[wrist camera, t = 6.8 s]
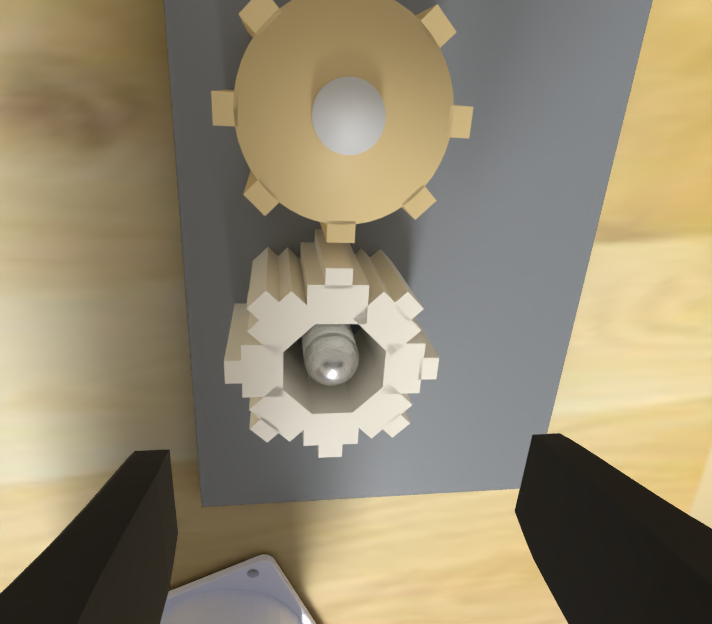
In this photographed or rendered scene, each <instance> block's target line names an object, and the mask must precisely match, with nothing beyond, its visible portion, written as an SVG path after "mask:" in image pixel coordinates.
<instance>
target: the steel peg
mask: <svg viewBox="0 0 712 624" xmlns="http://www.w3.org/2000/svg"><path fill="white" fill-rule="evenodd" d="M301 338H302V347H303V357H304V364H305V368H306V370H307V372H308V374H309V375H310V376H311V377H312V378H313V379H314V380H315V381H317V382H319V383H321V384H323V385H328V386H334V385H339V384H342V383H344V382H346V381H347V380H349V379H350V378H351V377H352V376H353V375H354V373H355V371H356V369H357V367H358V364H359V353H358V348H357V345H356V342H355V339H354V336H353V333H352V329H351V326H350V324H315V325H314V326H312V327H311V328H310V329H309V330H308V331H307V332H306V333H304V334H303V335H302V336H301Z"/></svg>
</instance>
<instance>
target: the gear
mask: <svg viewBox="0 0 712 624" xmlns="http://www.w3.org/2000/svg"><path fill="white" fill-rule="evenodd" d="M423 309H424V308H423V307H422V305H421V304H420V302H419V301H418V299H417V298H416V296H415V295H414V293H413V292H412V290H411V289H410V287H409V286H408V284H407V283H406V281H405V280H404V278H403V277H402V275H401V274H400V272H399V271H398V269H397V268H396V266H395V265H394V263H393V262H392V261H391V260H390V259H389V258H388V257H387V256H386V255H385V253H384V252H383V251H382V250H381V249H379V250H378V251H377V252H376V253H375V254H373V255H372V256H371V257H369V256H368V255H367V254H366V253H365V252H364V251H363V250H362V249H360V250H359V251H358V252H356V253H355V254H354V252H353V250H352V247H351V245H350V243H327V242H326V239H325V236H324V233H323V230H322V229H315V241H314V242H301V247H300V258H299V257H298V256H297V255H296V254H295V253H294V252H293V251H292V250H291V249H290V248H289V247H287V248H286V249H285V250H284V251H283V252H282V253H281V254H280V255H279V256H277V255H276V254H275V253H274V252H273V251H272V250H271V249H270V248H269V247H267V248H266V249H265V250H264V251H263V252H262V253H261V254H260V255H259V256H257V257H256V258H255V259H254V260H253V263H252V271H251V278H250V286H249V291H248V296H247V303H235V305H234V310H233V315H232V321H231V326H230V331H229V336H228V342H227V347H226V352H225V358H224V374H225V384H239V383H242V398H248V397H250V403H249V410H250V411H251V414H250V428H249V429H250V430H251V431H253V432H254V433H255V434H257V435H258V436H259V437H261V438H262V439H263V440H265V441H266V442H269V441H270V440H271V439H272V438H273V437H275V436H276V435H277V434H278V433H279V434H280V435H282V436H283V437H284V438H285V439H287V440H288V441H289V442H290V441H291V440H292V439H294V438H295V437H296V436H297V435H298V434H299V433H301V432H302V434H303V446H315V445H317V450H318V458H324V457H342V446H343V444H358V432H359V428H360V429H361V430H362V431H363V432H364V433H365V434H367V435H368V436H369V437H370V438H371V439H372V438H373V437H374V436H375V435H376V434H378V433H379V432H380V431H381V430H384V431H385V432H386V433H387V434H389V435H390V436H391V437H392V438H393V437H394V436H395V435H396V434H398V433H399V432H400V431H401V430H403V429H404V428H405V427H406V426H408V425H409V424H410V422H409V419H408V417H407V414H406V412H405V411H406V410H407V409H408V408H410V407H411V406H412V403H411V401H410V398H409V396H408V394H407V393H420V385H421V380H426V379H436V378H437V371H438V364H439V356H438V355H437V353H436V351H435V350H434V348H433V346H432V345H431V343H430V341H429V340H428V338H427V336H426V335H425V333H424V332H423V330H422V328H421V327H420V325H419V323H418V322H417V320H416V318H415V316H416V315H418V314H419V313H420V312H421V311H422V310H423ZM315 324H359V325H360V326H361V329H360V330H358V331H357V332H356V333H355V334H354V335H353V336H354V339H355V342H356V345H357V348H358V353H359V364H358V367H357V369H356V371H355V373H354V375H353V376H352V377H351V378H350V379H349V380H347V381H346V382H344V383H342V384H339V385H334V386H328V385H323V384H321V383H319V382H317V381H315V380H314V379H313V378H312V377H311V376H310V375H309V374H308V372H307V370H306V368H305V364H304V357H303V347H302V346H301V345H300V344H298V343H297V342H296V341H297V340H298V339H299V338H300V337H301V336H302V335H303V334H304V333H306V332H307V331H308V330H309V329H310V328H311V327H312V326H314V325H315Z"/></svg>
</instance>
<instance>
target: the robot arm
mask: <svg viewBox="0 0 712 624" xmlns="http://www.w3.org/2000/svg"><path fill="white" fill-rule="evenodd" d="M515 513H516V516H517V518H518V521H519V524H520V526H521V529H522V532H523V534H524V537H525V540H526V542H527V544H528V547H529V549H530V552H531V554H532V557H533V559H534V561H535V563H536V565H537V567H538V568H539V570H540V572H541V574H542V576H543V578H544V580H545V582H546V583H547V585H548V587H549V589H550V591H551V593H552V595H553V596H554V598H555V600H556V602H557V604H558V606H559V607H560V609H561V611H562V613H563V615H564V617H565V618H566V620H567V622H568V624H712V529H711V528H710V527H708V526H706V525H705V524H703V523H701V522H700V521H698V520H696V519H695V518H693V517H691V516H689V515H688V514H686V513H685V512H683V511H681V510H680V509H678V508H676V507H675V506H673V505H672V504H670V503H668V502H667V501H665V500H664V499H662V498H661V497H659V496H657V495H656V494H654V493H653V492H651V491H650V490H648V489H647V488H645V487H643V486H642V485H640V484H639V483H637V482H636V481H634V480H633V479H631V478H630V477H628V476H627V475H625V474H623V473H622V472H620V471H619V470H617V469H616V468H614V467H613V466H611V465H610V464H608V463H607V462H605V461H604V460H602V459H601V458H599V457H598V456H596V455H594V454H593V453H591V452H590V451H588V450H587V449H585V448H584V447H582V446H580V445H579V444H577V443H576V442H574V441H572V440H571V439H569V438H567V437H565V436H564V435H562V434H560V433H558V434H534V435H532V438H531V443H530V447H529V451H528V456H527V460H526V464H525V469H524V473H523V477H522V482H521V486H520V490H519V495H518V499H517V503H516V508H515ZM177 535H178V530H177V520H176V510H175V501H174V491H173V481H172V471H171V461H170V451H169V450H148V451H134V452H133V453H132V454H131V455H130V456H129V457H128V458H127V459H126V461H125V462H124V463H123V464H122V465H121V466H120V468H119V469H118V470H117V471H116V472H115V473H114V475H113V476H112V477H111V478H110V479H109V480H108V482H107V483H106V484H105V485H104V486H103V487H102V488H101V490H100V491H99V492H98V493H97V494H96V495H95V496H94V497H93V499H92V500H91V501H90V502H89V503H88V504H87V505H86V506H85V508H84V509H83V510H82V511H81V512H80V513H79V514H78V515H77V516H76V517H75V518H74V519H73V521H72V522H71V523H70V524H69V525H68V526H67V527H66V528H65V529H64V530H63V531H62V532H61V533H60V535H59V536H58V537H57V538H56V539H55V540H54V541H53V542H52V543H51V544H50V545H49V546H48V547H47V548H46V549H45V550H44V551H43V552H42V553H41V554H40V555H39V556H38V557H37V558H36V559H35V560H34V561H33V562H32V563H31V564H30V565H29V566H28V567H27V568H26V569H25V570H24V571H23V572H22V573H21V574H20V575H19V576H18V577H17V578H16V579H15V580H14V581H13V582H12V583H11V584H10V585H9V586H8V587H7V588H6V589H5V590H3V591H2V592H1V593H0V624H316V623H315V621H314V620H313V618H312V616H311V615H310V613H309V612H308V610H307V609H306V607H305V606H304V604H303V603H302V601H301V600H300V598H299V596H298V595H297V593H296V592H295V590H294V589H293V587H292V586H291V584H290V583H289V581H288V579H287V578H286V576H285V575H284V573H283V572H282V570H281V569H280V567H279V566H278V564H277V563H276V561H275V559H274V558H273V557H272V556H270V555H265V554H263V555H259V556H256V557H254V558H251V559H249V560H246V561H244V562H241V563H239V564H236V565H234V566H231V567H229V568H226V569H224V570H221V571H219V572H216V573H214V574H211V575H209V576H206V577H204V578H201V579H198V580H196V581H193V582H191V583H188V584H186V585H183V586H181V587H178V588H176V589H173V590H171V591H169V587H170V581H171V575H172V569H173V562H174V556H175V549H176V542H177ZM251 569H256V570H251Z"/></svg>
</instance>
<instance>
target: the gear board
mask: <svg viewBox="0 0 712 624" xmlns="http://www.w3.org/2000/svg"><path fill="white" fill-rule="evenodd" d="M652 1H653V0H164V11H165V24H166V37H167V51H168V64H169V77H170V91H171V104H172V117H173V130H174V144H175V157H176V170H177V184H178V197H179V210H180V224H181V237H182V250H183V263H184V277H185V290H186V303H187V317H188V330H189V343H190V356H191V370H192V383H193V396H194V410H195V423H196V436H197V449H198V463H199V476H200V489H201V503H202V507H210V506H227V505H244V504H262V503H279V502H296V501H313V500H331V499H348V498H365V497H382V496H400V495H417V494H434V493H452V492H469V491H486V490H503V489H520V486H521V482H522V477H523V473H524V469H525V464H526V460H527V456H528V451H529V447H530V443H531V438H532V435H534V434H547V431H548V427H549V423H550V419H551V415H552V411H553V406H554V402H555V398H556V394H557V390H558V386H559V382H560V378H561V374H562V370H563V365H564V361H565V357H566V353H567V349H568V345H569V341H570V337H571V333H572V329H573V324H574V320H575V316H576V312H577V308H578V304H579V300H580V296H581V292H582V288H583V283H584V279H585V275H586V271H587V267H588V263H589V259H590V255H591V251H592V247H593V242H594V238H595V234H596V230H597V226H598V222H599V218H600V214H601V210H602V206H603V201H604V197H605V193H606V189H607V185H608V181H609V177H610V173H611V169H612V165H613V160H614V156H615V152H616V148H617V144H618V140H619V136H620V132H621V128H622V124H623V119H624V115H625V111H626V107H627V103H628V99H629V95H630V91H631V87H632V83H633V78H634V74H635V70H636V66H637V62H638V58H639V54H640V50H641V46H642V42H643V37H644V33H645V29H646V25H647V21H648V17H649V13H650V9H651V5H652ZM315 229H322V230H323V233H324V236H325V239H326V242H327V243H350V245H351V247H352V250H353V252H354V254H355V253H356V252H358V251H359V250H360V249H362V250H363V251H364V252H365V253H366V254H367V255H368V256H369V257H371V256H372V255H373V254H375V253H376V252H377V251H378V250H379V249H381V250H382V251H383V252H384V253H385V255H386V256H387V257H388V258H389V259H390V260H391V261H392V262H393V263H394V265H395V266H396V268H397V269H398V271H399V272H400V274H401V275H402V277H403V278H404V280H405V281H406V283H407V284H408V286H409V287H410V289H411V290H412V292H413V293H414V295H415V296H416V298H417V299H418V301H419V302H420V304H421V305H422V307H423V308H424V309H423V310H422V311H421V312H420V313H419V314H418V315H416V316H415V318H416V320H417V322H418V323H419V325H420V327H421V328H422V330H423V332H424V333H425V335H426V336H427V338H428V340H429V341H430V343H431V345H432V346H433V348H434V350H435V351H436V353H437V355H438V356H439V364H438V371H437V378H436V379H426V380H421V385H420V393H407V394H408V396H409V398H410V401H411V403H412V406H411V407H410V408H408V409H407V410H406V411H405V412H406V414H407V417H408V419H409V422H410V424H409V425H408V426H406V427H405V428H404V429H403V430H401V431H400V432H399V433H398V434H396V435H395V436H394V437H393V438H392V437H391V436H390V435H389V434H387V433H386V432H385V431H384V430H381V431H380V432H379V433H378V434H376V435H375V436H374V437H373V438H372V439H371V438H370V437H369V436H368V435H367V434H365V433H364V432H363V431H362V430H361V429H360V428H359V432H358V444H343V446H342V457H324V458H318V450H317V445H315V446H303V434H302V432H301V433H299V434H298V435H297V436H296V437H295V438H294V439H292V440H291V441H290V442H289V441H288V440H287V439H285V438H284V437H283V436H282V435H280V434H279V433H278V434H277V435H276V436H275V437H273V438H272V439H271V440H270V441H269V442H266V441H265V440H263V439H262V438H261V437H259V436H258V435H257V434H255V433H254V432H253V431H251V430H250V429H249V428H250V414H251V411H250V410H249V403H250V397H248V398H242V383H239V384H225V374H224V358H225V352H226V347H227V342H228V336H229V331H230V326H231V321H232V315H233V310H234V305H235V303H247V296H248V291H249V286H250V278H251V271H252V263H253V260H254V259H255V258H256V257H257V256H259V255H260V254H261V253H262V252H263V251H264V250H265V249H266V248H267V247H269V248H270V249H271V250H272V251H273V252H274V253H275V254H276V255H277V256H279V255H280V254H281V253H282V252H283V251H284V250H285V249H286V248H287V247H289V248H290V249H291V250H292V251H293V252H294V253H295V254H296V255H297V256H298V257H299V258H300V247H301V242H314V241H315ZM350 326H351V329H352V333H353V335H354V334H355V333H356V332H357V331H358V330H360V329H361V326H360V325H359V324H350ZM296 342H297V343H298V344H300V345H301V346H302V338H301V337H300V338H299V339H298V340H297V341H296Z"/></svg>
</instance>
